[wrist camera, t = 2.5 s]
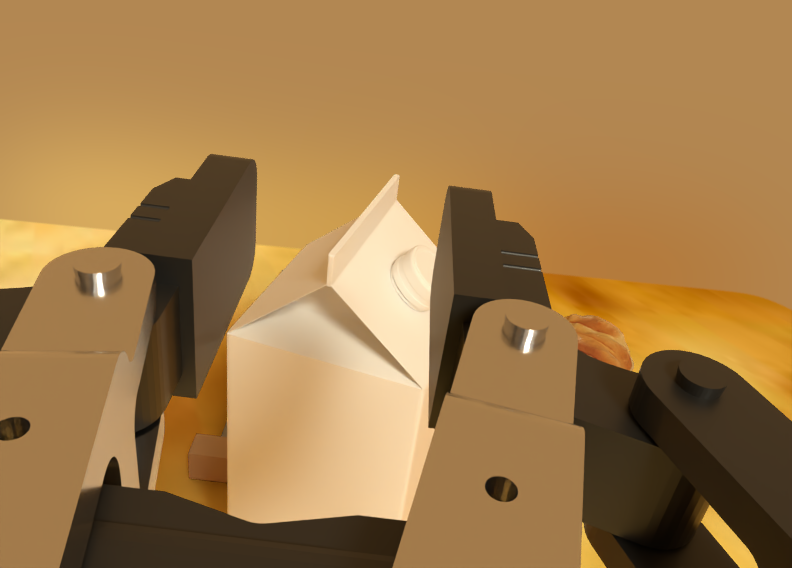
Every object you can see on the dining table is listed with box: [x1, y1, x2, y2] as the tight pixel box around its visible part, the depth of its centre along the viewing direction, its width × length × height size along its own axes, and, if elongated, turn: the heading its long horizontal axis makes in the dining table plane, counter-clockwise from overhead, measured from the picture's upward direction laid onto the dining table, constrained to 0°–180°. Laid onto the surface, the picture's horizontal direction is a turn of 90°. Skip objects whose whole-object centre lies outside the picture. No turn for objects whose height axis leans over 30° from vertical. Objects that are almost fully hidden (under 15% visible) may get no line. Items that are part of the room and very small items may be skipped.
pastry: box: [564, 314, 634, 371], centre depth 48 cm, size 9×7×4 cm
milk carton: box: [227, 174, 437, 523], centre depth 29 cm, size 7×7×19 cm
